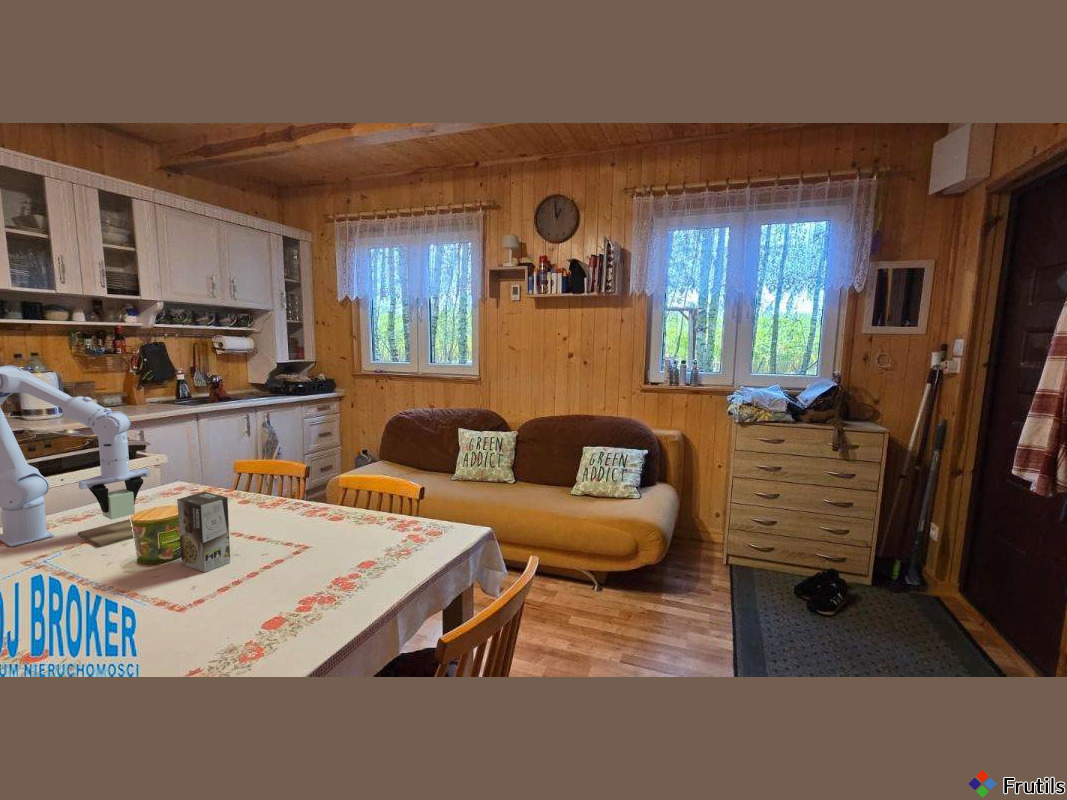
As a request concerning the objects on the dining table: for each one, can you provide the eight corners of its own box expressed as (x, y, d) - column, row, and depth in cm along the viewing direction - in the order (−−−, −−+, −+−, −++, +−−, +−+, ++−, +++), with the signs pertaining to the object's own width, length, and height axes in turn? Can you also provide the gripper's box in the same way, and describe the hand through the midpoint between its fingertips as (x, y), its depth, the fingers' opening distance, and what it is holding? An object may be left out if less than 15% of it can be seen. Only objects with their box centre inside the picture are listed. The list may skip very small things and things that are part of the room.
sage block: (103, 515, 127) (101, 493, 126) (126, 510, 131) (124, 488, 130) (111, 519, 125) (109, 497, 124) (134, 513, 129) (133, 492, 128)
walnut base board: (78, 535, 126) (77, 532, 126) (137, 519, 137) (137, 517, 137) (100, 547, 120) (99, 544, 120) (160, 530, 131) (160, 527, 131)
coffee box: (232, 561, 115) (229, 497, 113) (204, 573, 109) (200, 505, 107) (208, 553, 119) (205, 490, 117) (179, 564, 113) (176, 498, 111)
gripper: (85, 467, 118) (89, 520, 119) (154, 455, 130) (157, 503, 132) (73, 462, 121) (77, 514, 123) (141, 451, 134) (145, 498, 135)
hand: (118, 508), depth 128 cm, fingers closed on sage block, 5 cm apart
